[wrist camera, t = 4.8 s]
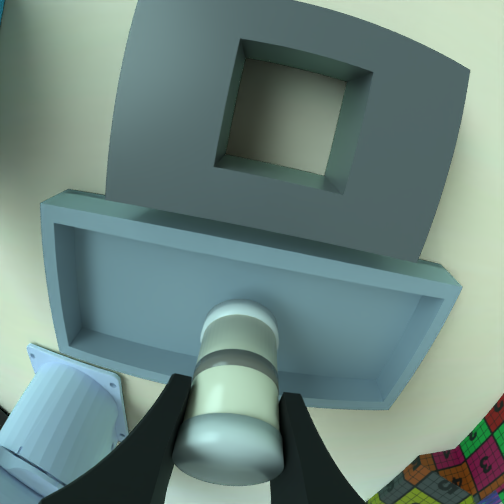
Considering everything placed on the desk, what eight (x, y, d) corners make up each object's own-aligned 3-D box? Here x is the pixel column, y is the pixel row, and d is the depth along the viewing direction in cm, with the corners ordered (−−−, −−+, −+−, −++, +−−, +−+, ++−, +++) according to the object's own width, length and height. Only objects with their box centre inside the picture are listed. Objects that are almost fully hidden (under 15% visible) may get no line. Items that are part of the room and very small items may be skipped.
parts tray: (378, 382, 19) (388, 409, 16) (77, 327, 18) (59, 352, 15) (440, 264, 15) (462, 286, 13) (68, 189, 14) (40, 203, 12)
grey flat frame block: (387, 231, 14) (416, 263, 11) (138, 179, 14) (105, 200, 11) (428, 75, 11) (469, 70, 8) (169, 13, 11) (142, -13, 7)
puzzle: (470, 393, 20) (528, 521, 7) (553, 380, 21) (601, 460, 8) (358, 506, 30) (369, 589, 18) (448, 488, 31) (467, 555, 18)
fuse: (268, 360, 15) (268, 489, 9) (200, 348, 15) (171, 475, 9) (286, 306, 14) (298, 448, 7) (208, 291, 13) (172, 430, 7)
